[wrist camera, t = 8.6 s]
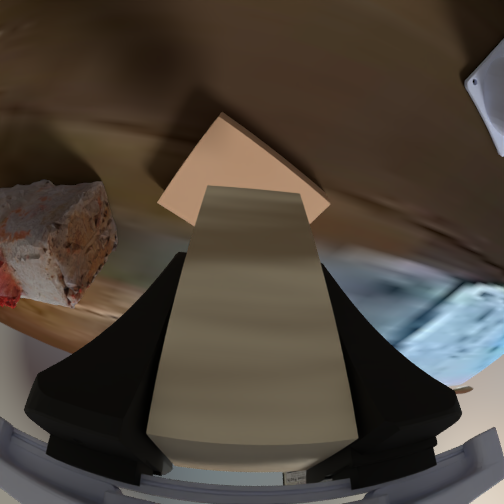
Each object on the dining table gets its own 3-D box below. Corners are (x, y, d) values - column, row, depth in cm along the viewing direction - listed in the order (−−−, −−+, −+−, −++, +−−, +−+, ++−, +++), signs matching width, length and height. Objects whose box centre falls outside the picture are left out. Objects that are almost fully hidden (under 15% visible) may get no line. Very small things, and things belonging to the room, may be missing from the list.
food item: (19, 248, 23) (-30, 315, 15) (-6, 179, 18) (-73, 239, 10) (124, 248, 23) (79, 342, 15) (104, 159, 18) (23, 234, 10)
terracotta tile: (218, 116, 15) (157, 202, 18) (330, 203, 18) (262, 268, 22) (222, 110, 17) (165, 188, 20) (323, 189, 20) (261, 250, 23)
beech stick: (207, 185, 12) (145, 433, 4) (300, 193, 12) (358, 438, 4) (206, 257, 15) (175, 465, 7) (285, 263, 15) (306, 470, 7)
